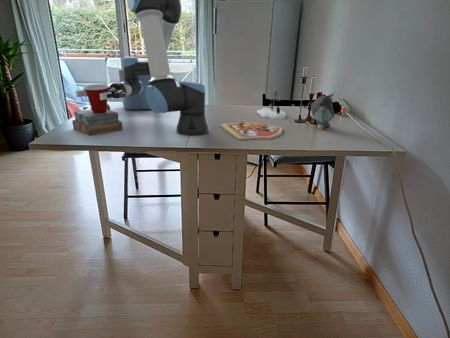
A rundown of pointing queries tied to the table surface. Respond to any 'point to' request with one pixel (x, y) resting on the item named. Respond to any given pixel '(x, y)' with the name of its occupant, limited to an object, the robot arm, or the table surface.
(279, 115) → the figurine
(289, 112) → the table surface
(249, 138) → the knob puzzle
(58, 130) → the table surface
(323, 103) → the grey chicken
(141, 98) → the planter
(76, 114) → the stack of books
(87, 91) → the plastic cup
